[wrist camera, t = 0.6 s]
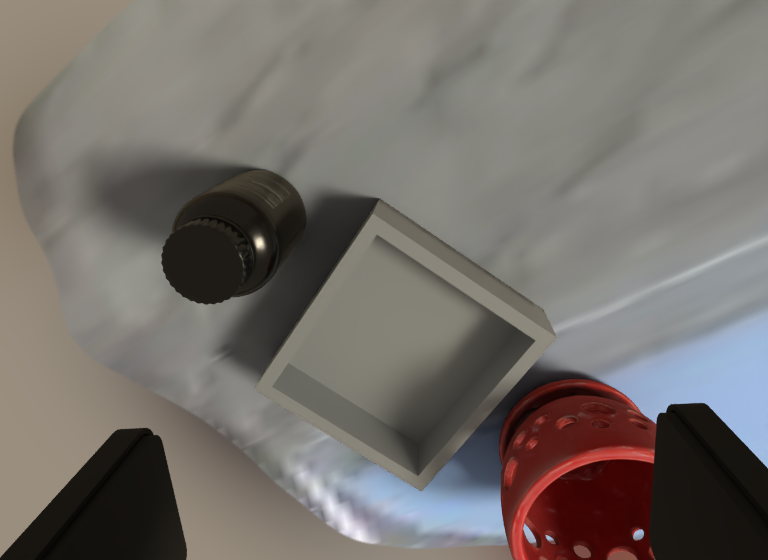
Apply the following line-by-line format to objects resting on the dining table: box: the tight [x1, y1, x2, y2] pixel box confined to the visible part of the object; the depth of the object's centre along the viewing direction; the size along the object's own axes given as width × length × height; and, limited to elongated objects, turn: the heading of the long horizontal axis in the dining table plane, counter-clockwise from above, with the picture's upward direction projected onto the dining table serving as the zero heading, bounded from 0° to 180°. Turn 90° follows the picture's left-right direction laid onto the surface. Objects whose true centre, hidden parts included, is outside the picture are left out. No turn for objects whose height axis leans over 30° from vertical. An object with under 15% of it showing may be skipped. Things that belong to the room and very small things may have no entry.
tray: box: [254, 199, 557, 491], centre depth 42 cm, size 16×15×5 cm
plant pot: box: [499, 379, 656, 560], centre depth 41 cm, size 13×13×12 cm
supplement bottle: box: [161, 170, 306, 304], centre depth 37 cm, size 7×7×12 cm
